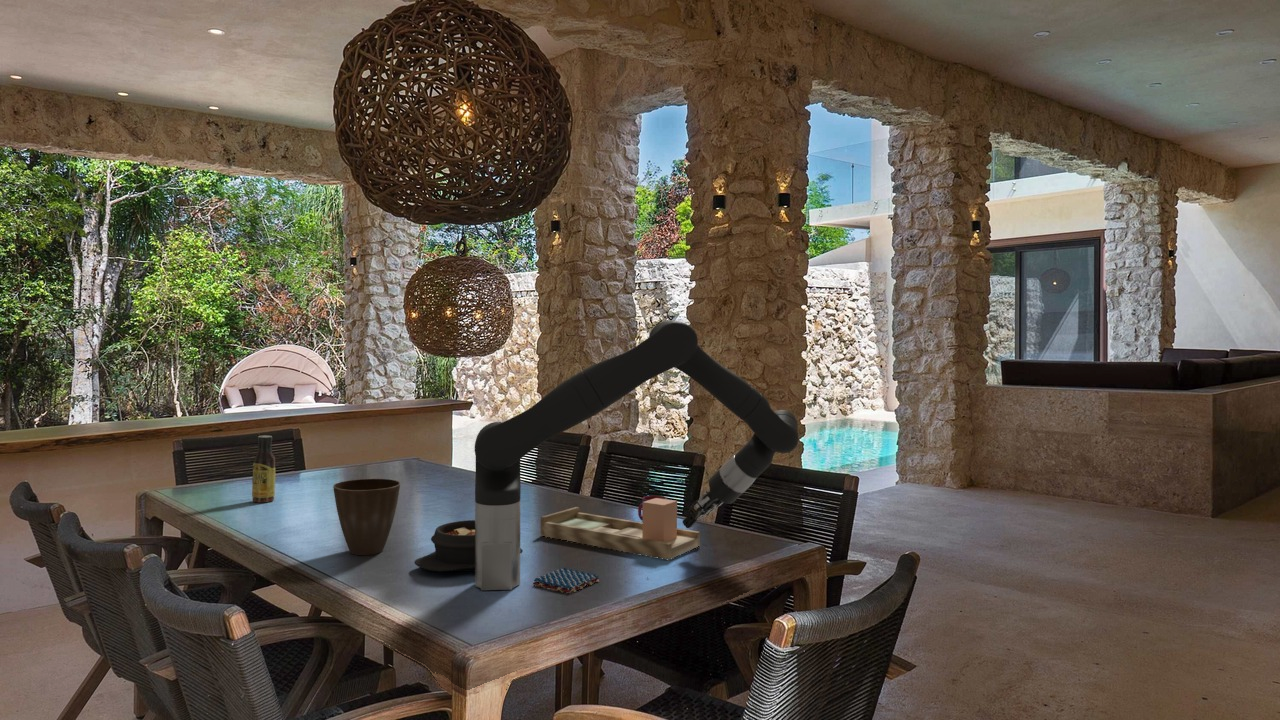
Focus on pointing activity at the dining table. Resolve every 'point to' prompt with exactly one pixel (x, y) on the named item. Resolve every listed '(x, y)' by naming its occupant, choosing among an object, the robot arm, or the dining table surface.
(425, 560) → the casserole
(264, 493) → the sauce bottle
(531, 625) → the dining table surface
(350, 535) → the plant pot
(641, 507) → the mug
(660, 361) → the robot arm
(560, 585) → the woven mat
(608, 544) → the tray
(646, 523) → the terracotta block
